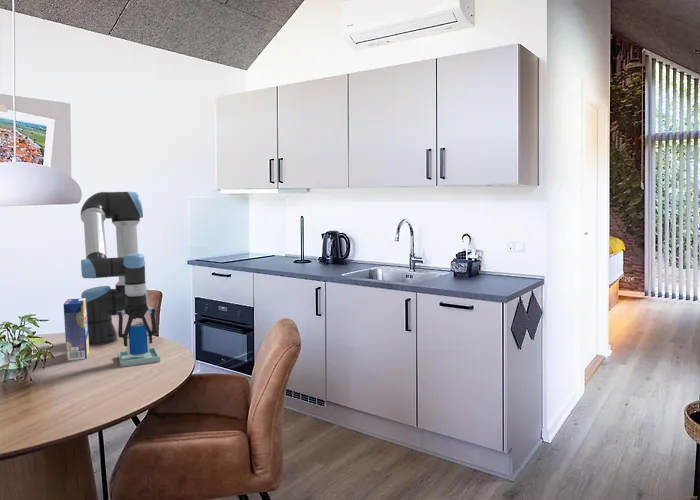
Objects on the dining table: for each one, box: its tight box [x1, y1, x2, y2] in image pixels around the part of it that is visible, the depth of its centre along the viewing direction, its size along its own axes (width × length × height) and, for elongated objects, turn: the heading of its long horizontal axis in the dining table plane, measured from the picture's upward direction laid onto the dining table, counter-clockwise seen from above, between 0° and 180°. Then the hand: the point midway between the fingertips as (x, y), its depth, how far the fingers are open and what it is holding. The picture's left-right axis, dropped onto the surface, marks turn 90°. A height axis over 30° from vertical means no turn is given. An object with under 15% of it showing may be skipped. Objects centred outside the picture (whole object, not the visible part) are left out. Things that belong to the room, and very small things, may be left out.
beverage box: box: [63, 298, 90, 361], centre depth 221 cm, size 7×11×22 cm, turn 19°
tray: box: [117, 347, 161, 368], centre depth 217 cm, size 14×14×2 cm
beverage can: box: [128, 321, 148, 356], centre depth 216 cm, size 6×6×12 cm
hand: (138, 352), depth 217 cm, fingers closed on beverage can, 6 cm apart
